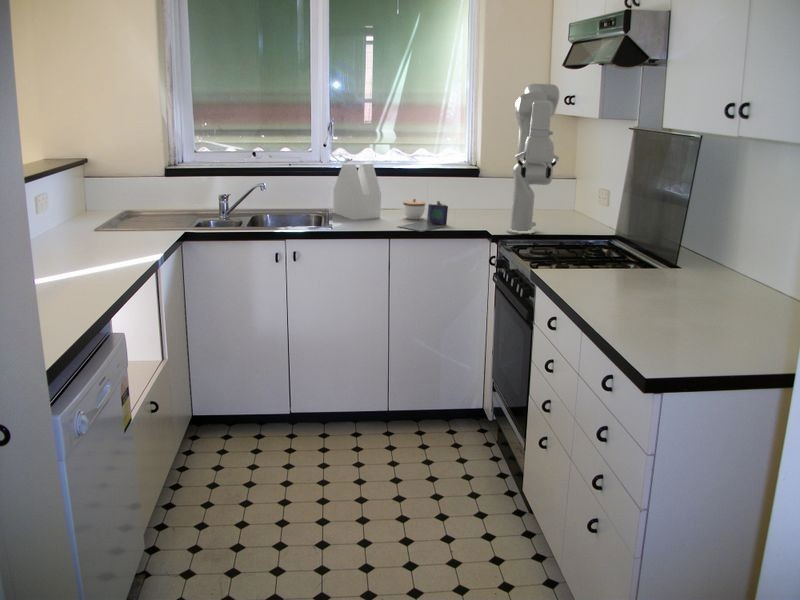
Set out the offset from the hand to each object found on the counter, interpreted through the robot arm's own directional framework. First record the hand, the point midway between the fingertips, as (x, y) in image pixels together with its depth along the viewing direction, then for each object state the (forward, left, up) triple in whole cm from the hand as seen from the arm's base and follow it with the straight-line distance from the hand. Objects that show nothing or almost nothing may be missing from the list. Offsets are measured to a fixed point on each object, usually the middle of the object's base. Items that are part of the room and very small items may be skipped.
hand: (535, 177), depth 324 cm
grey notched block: (-3, -100, -31) cm, 105 cm away
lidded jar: (-20, -78, -31) cm, 86 cm away
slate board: (-5, -61, -30) cm, 69 cm away
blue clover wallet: (-17, -61, -30) cm, 70 cm away
